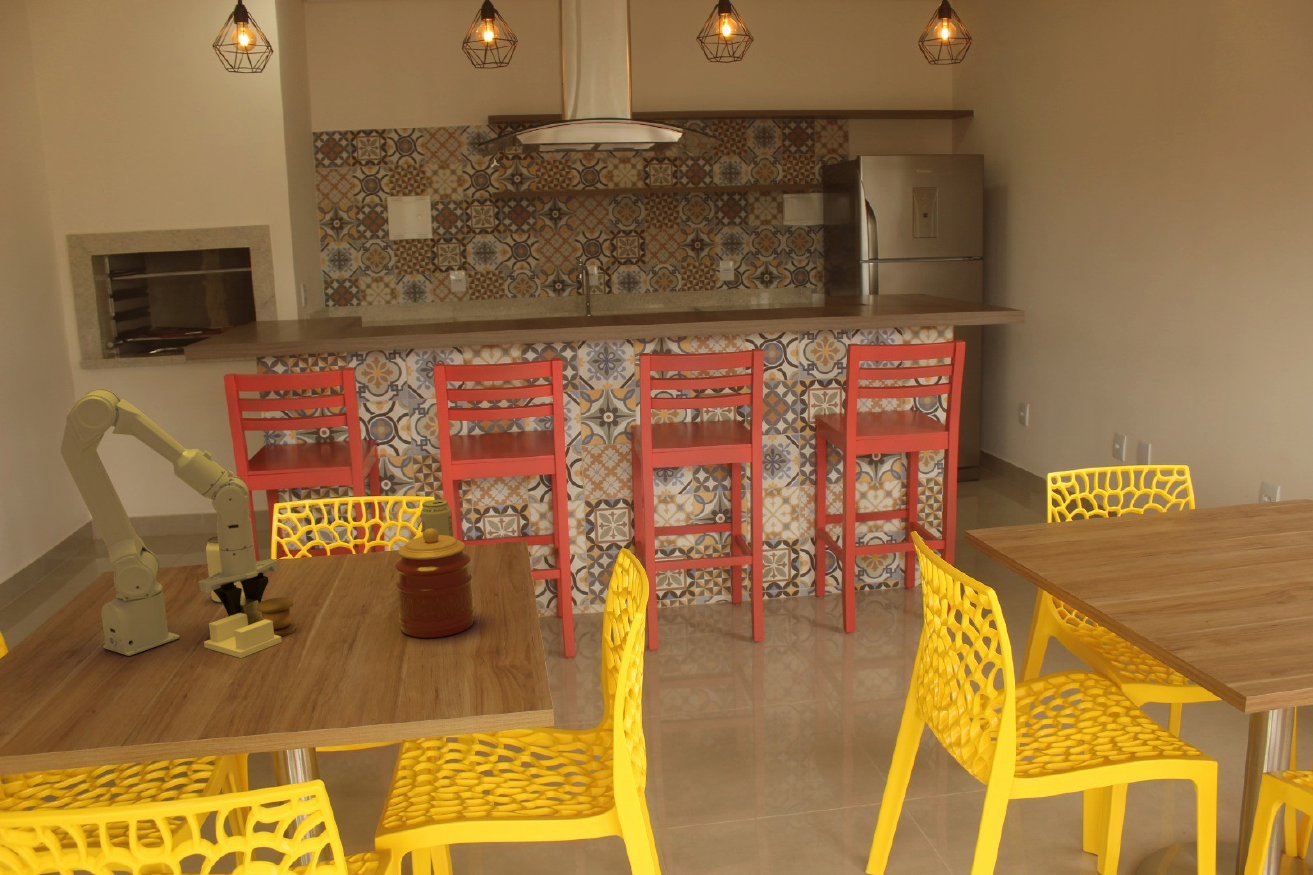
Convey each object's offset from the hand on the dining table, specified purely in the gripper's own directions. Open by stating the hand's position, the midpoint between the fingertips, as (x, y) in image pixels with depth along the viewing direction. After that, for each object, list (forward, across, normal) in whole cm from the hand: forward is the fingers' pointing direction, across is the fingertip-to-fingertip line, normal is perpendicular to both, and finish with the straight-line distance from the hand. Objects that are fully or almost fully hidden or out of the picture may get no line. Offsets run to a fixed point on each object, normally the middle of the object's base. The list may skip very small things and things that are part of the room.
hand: (244, 619), depth 187 cm
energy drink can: (+2, +39, -10) cm, 40 cm away
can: (+2, +9, +18) cm, 20 cm away
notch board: (+1, -6, -7) cm, 9 cm away
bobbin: (+1, +2, -7) cm, 7 cm away
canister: (+2, +17, -30) cm, 35 cm away
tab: (+1, 0, 0) cm, 1 cm away
